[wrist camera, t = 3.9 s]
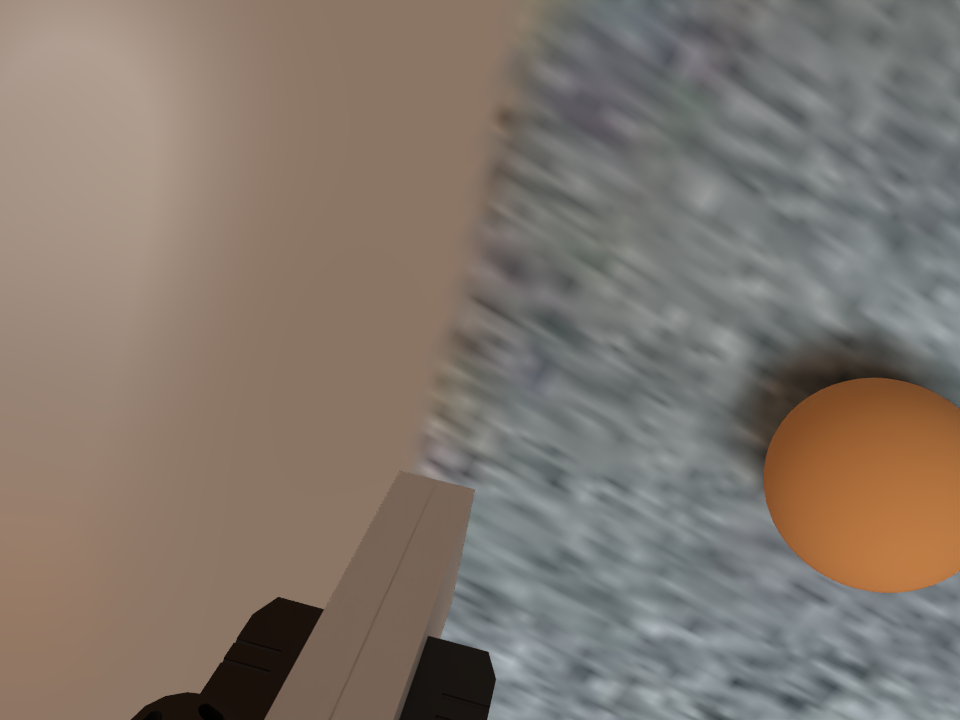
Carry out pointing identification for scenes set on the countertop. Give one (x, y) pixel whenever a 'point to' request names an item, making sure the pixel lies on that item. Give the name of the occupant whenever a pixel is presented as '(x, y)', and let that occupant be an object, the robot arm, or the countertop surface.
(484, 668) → the robot arm
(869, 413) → the ball
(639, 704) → the countertop surface
